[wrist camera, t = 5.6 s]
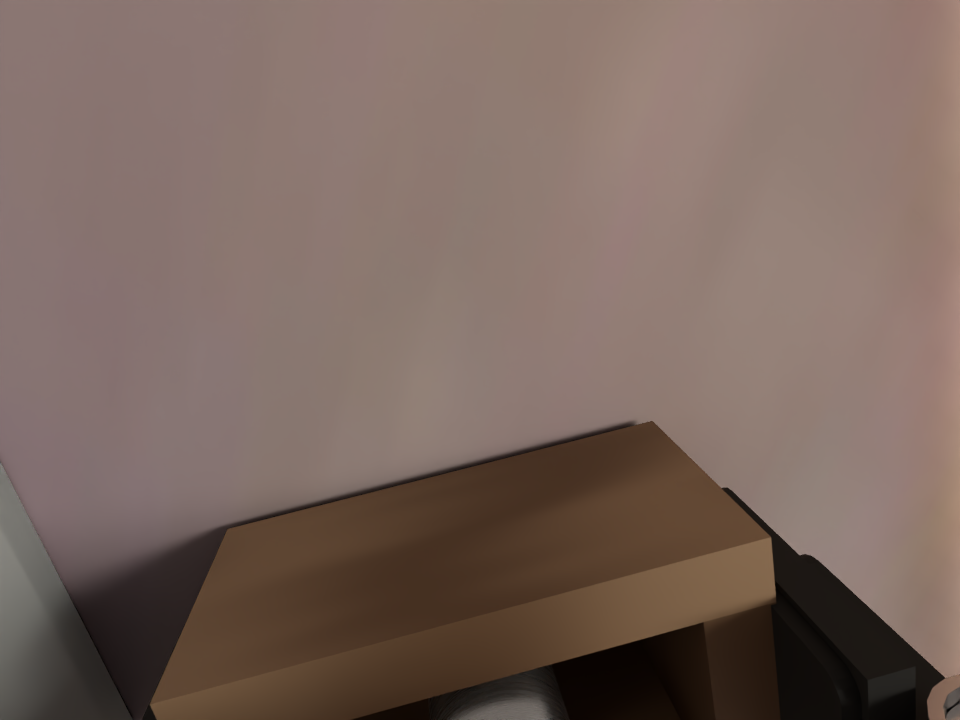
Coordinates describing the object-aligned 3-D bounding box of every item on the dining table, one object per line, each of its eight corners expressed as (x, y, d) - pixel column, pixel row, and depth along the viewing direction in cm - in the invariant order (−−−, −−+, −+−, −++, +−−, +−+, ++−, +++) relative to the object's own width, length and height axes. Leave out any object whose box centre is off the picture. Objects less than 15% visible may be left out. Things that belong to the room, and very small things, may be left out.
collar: (652, 421, 11) (814, 580, 7) (684, 652, 12) (833, 899, 8) (226, 529, 10) (119, 771, 6) (314, 755, 12) (275, 1071, 8)
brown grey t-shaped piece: (595, 595, 12) (755, 930, 7) (368, 660, 12) (352, 1060, 6) (578, 510, 11) (737, 803, 6) (338, 576, 11) (295, 940, 6)
